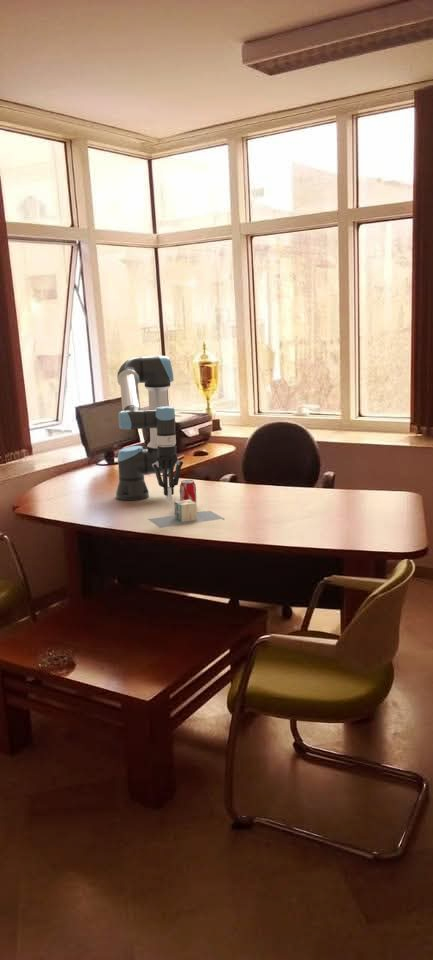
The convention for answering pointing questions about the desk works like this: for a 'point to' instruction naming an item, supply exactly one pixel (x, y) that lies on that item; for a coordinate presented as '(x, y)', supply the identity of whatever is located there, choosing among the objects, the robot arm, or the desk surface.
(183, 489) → the soda can
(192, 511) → the block
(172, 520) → the mat
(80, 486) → the desk surface
